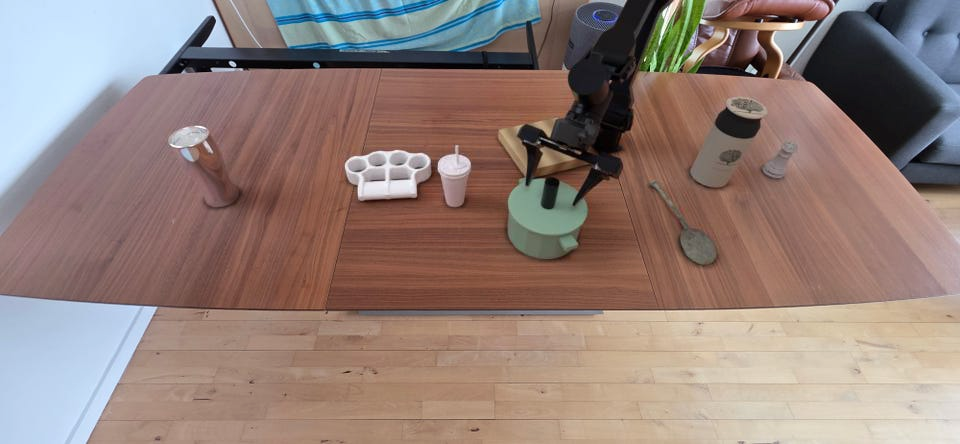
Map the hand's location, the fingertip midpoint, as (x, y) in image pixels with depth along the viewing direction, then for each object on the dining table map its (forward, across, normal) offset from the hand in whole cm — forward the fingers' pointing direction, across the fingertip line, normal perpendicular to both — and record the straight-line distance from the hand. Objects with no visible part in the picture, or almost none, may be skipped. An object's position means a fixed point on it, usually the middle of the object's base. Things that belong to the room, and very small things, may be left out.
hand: (549, 195), depth 76 cm
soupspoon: (-6, +22, +19) cm, 29 cm away
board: (-10, -11, +23) cm, 28 cm away
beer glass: (+26, -59, -12) cm, 66 cm away
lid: (+2, 0, +2) cm, 3 cm away
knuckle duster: (+10, -34, +4) cm, 36 cm away
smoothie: (+8, -19, +5) cm, 22 cm away
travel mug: (-18, +24, +32) cm, 44 cm away
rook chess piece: (-25, +36, +39) cm, 59 cm away
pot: (+7, 0, +7) cm, 10 cm away
